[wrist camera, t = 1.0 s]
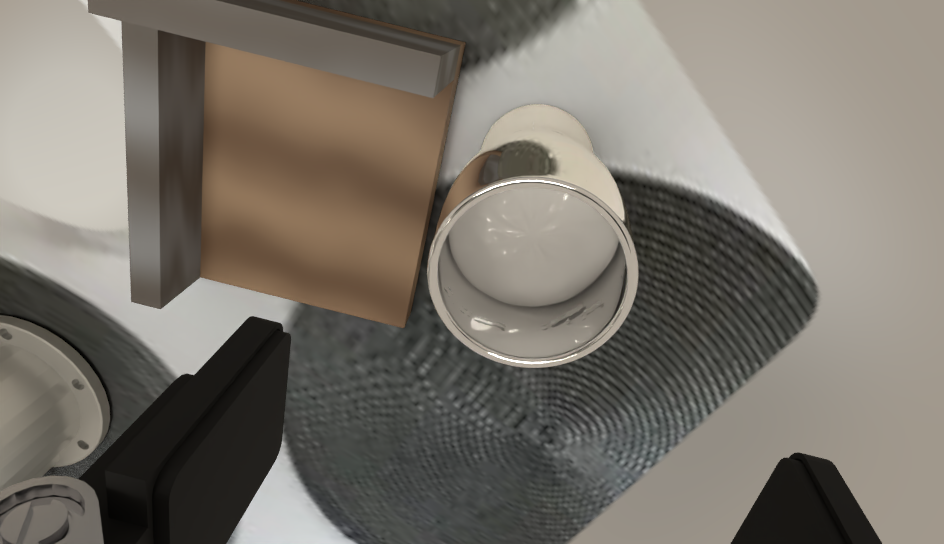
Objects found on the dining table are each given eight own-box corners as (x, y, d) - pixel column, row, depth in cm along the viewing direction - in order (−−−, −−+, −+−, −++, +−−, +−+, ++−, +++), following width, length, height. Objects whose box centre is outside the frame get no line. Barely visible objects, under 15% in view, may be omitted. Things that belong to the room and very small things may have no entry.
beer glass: (629, 155, 31) (695, 275, 18) (539, 246, 34) (537, 409, 20) (531, 65, 30) (522, 119, 16) (446, 167, 33) (377, 285, 19)
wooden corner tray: (410, 312, 37) (378, 388, 29) (192, 257, 37) (105, 320, 30) (465, 42, 30) (441, 56, 23) (196, -25, 30) (85, -32, 23)
